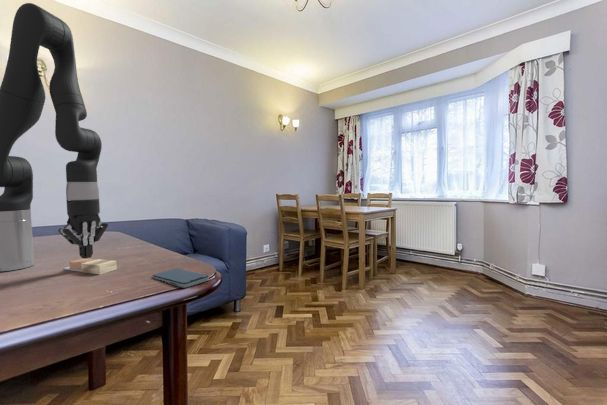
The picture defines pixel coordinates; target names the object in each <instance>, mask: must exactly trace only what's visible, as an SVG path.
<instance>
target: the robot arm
mask: <svg viewBox="0 0 607 405" xmlns="http://www.w3.org/2000/svg"><path fill="white" fill-rule="evenodd" d="M40 46H41V47H42V48H45V49H47V50H48V51H49V53H50V55H51V57H52V59H53V64H54V70H53V73H52V76H51V78H50V81H49V86H48V87H49V96H50V100H51V102H52V104H53V108H54V111H55V124H54V125H55V130H54V133H55V139H56V142H57V143H58V145H59V146H60V148H62V149H63V150H65V151H68V152H73V153H77V156H76V159H75V160H72V161H68V162H67V164H66V165H65V177H66V180H65V181H66V186H65V187H66V188H65V197H66V198H65V199H66V212H67V213H66V214H67V216H68V219H67V220H66V225H65V226H63V228H59V229H58V233H59V234H60V235H61V236H62V237H63V238H65V239H66V241H67V242H69V243H70V244H71V245H75V246H78V252H79V257H80V259H83V258H84V259H91V258H92V255H93V254H94V249H93V246H94V243H95V242H99V241H100V239H101V237H102V236H103V235H104V232H105V231H106V229H107V228H108V226H109V223H106V222H105V223H104V222H103V221H101V217H100V215H99V214H100V213H101V211H100V210H101V208H100V207H101V206H100V205H101V204H100V191H99V190H100V189H99V186H98V171H97V168H98V164H99V160H100V156H101V152H102V140H101V137H100V135H99V134H98V132H96V131H94V130H92V129H90V128H84V127H80V125H79V124H80V123H79V122H80V121H85V119H86V118H87V117H88V113H87V109H86V104H85V102H84V98H83V94H82V93H81V88H80V85H79V79H78V72H77V62H76V54H75V53H76V52H75V45H74V38H73V34H72V30H71V28H70V27H69V25H68V24H67V22H65V21H63V20H62V19H61V18H59V17H58V16H56V15H54V14H52V13H50V12H49V11H47V10H46V9H44V8H42V7H40V6H39V5H37V4H35V3H31V2H25V3H23V4H21V5H20V6H18V9H17V10H16V12H15V14H14V18H13V22H12V27H11V37H10V44H9V50H8V52H9V53H8V58H7V62H6V66H5V71H4V74H3V78H2V81H1V85H0V188H4V190H3V192H2V194H1V195H0V272H8V271H9V272H10V271H16V270H21V269H27V268H30V267H33V266H34V265H35V257H34V256H35V255H34V239H33V238H34V237H33V221H32V212H31V208H32V207H31V203H32V201H33V199H34V172H33V168H32V166H31V164H30V162H29V161H28V160H27V159H26V158H24V157H21V156H16V155H10V152H11V150H12V149H13V146H14V144H15V143H16V141H18V139H19V138H21V137H22V136H23V135H24V134H26V133H27V132H28V131H29V130H30V129H31V128H32V127H34V126H35V125H36V124H37V123H38V122H39V121H40V118H41V116H42V113H43V109H44V105H45V103H46V102H45V101H46V92H45V87H44V85H43V82H42V79H41V75H40V73H39V70H38V68H39V67H38V56H39V50H40ZM73 232H74V233H73Z"/></svg>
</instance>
